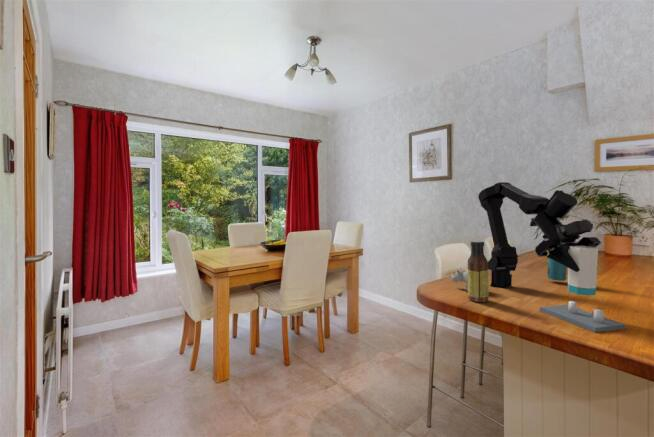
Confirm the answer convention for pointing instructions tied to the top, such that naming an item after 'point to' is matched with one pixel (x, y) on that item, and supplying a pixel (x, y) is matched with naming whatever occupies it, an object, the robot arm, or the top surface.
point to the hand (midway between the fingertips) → (587, 270)
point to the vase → (583, 270)
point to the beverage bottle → (556, 270)
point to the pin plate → (583, 317)
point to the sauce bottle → (478, 273)
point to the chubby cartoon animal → (460, 277)
